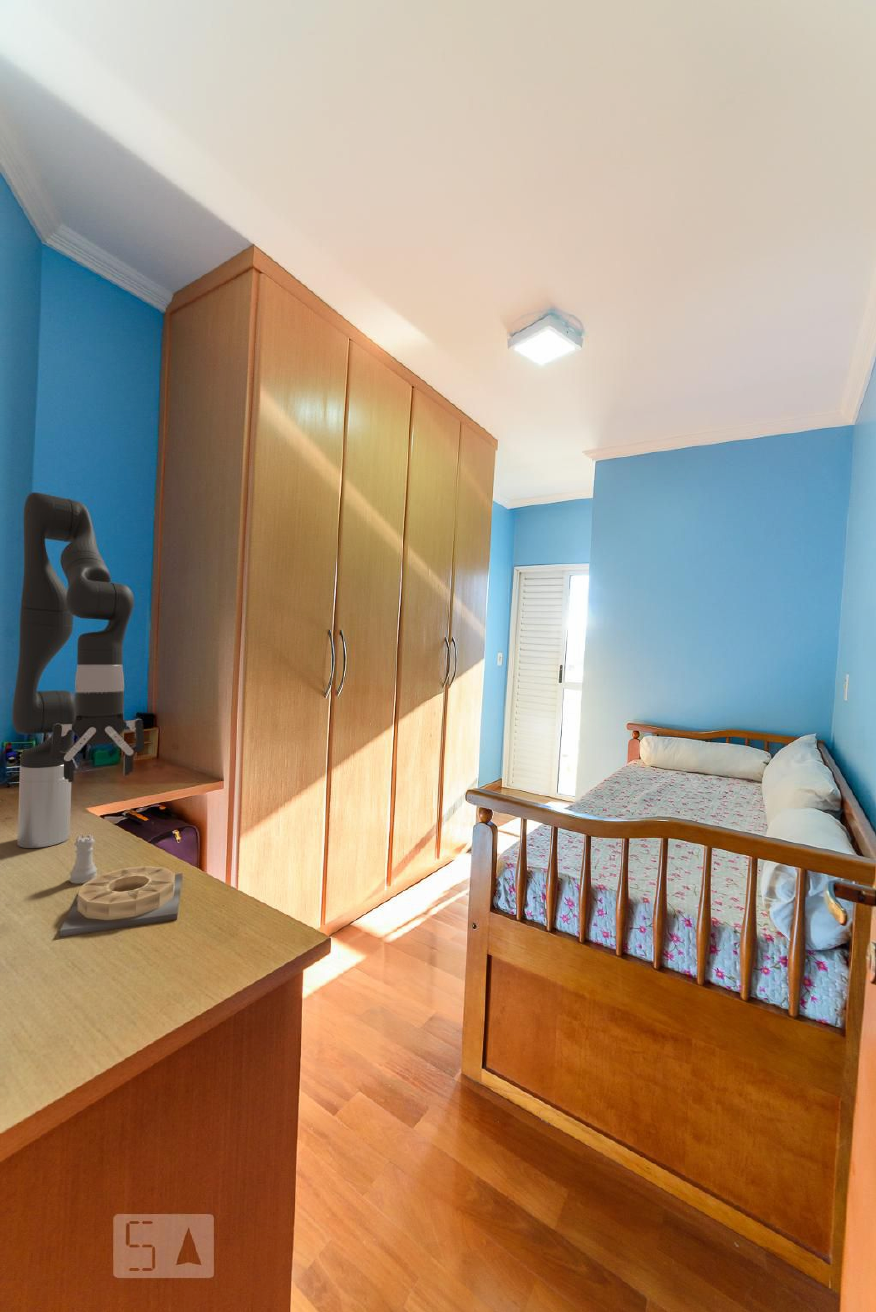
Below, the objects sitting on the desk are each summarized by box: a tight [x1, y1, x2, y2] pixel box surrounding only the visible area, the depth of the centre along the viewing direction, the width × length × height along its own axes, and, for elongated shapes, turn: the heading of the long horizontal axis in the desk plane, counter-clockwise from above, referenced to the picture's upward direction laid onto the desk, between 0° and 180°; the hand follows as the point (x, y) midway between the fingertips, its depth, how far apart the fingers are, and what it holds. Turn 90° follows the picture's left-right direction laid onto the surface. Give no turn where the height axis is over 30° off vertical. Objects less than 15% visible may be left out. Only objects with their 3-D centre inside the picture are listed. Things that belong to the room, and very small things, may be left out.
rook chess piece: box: [69, 834, 99, 885], centre depth 98 cm, size 4×4×8 cm
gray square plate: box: [59, 865, 183, 938], centre depth 90 cm, size 16×16×4 cm
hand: (99, 778), depth 96 cm, fingers open, 8 cm apart
